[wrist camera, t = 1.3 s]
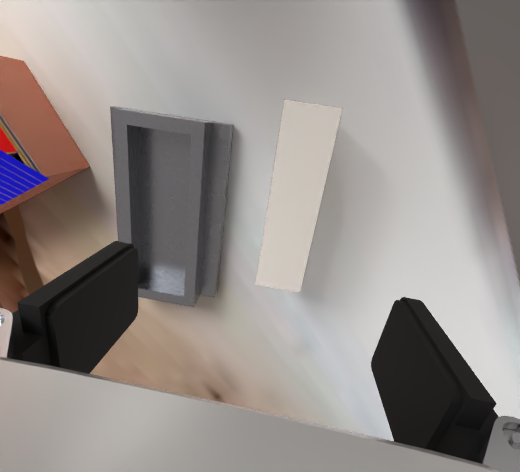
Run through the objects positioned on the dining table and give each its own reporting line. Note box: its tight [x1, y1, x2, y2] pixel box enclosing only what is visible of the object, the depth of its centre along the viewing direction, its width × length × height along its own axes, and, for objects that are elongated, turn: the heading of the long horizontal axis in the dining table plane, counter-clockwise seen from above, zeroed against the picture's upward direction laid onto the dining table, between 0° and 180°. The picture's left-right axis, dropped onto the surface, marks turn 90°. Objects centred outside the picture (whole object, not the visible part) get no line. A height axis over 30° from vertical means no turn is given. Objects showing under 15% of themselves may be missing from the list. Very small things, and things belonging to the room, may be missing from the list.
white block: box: [255, 99, 343, 293], centre depth 27 cm, size 15×4×9 cm, turn 172°
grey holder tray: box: [110, 107, 233, 307], centre depth 31 cm, size 20×12×4 cm, turn 172°
